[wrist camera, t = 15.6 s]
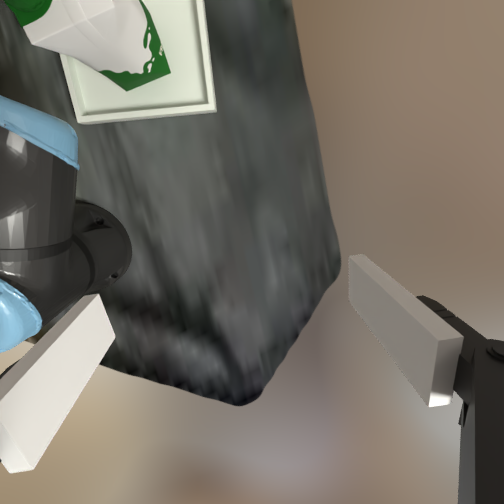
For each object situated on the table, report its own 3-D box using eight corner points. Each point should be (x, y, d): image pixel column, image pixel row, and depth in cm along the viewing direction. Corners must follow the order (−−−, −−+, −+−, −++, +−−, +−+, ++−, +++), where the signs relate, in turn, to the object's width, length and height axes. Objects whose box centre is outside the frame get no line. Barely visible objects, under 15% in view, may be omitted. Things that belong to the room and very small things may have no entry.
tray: (86, 124, 41) (77, 122, 39) (53, -7, 36) (41, -17, 34) (216, 112, 41) (215, 109, 39) (201, -22, 36) (198, -34, 34)
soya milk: (94, 33, 37) (-70, -102, 18) (154, 6, 36) (47, -166, 17) (124, 101, 40) (8, 45, 21) (180, 77, 39) (114, -3, 20)
